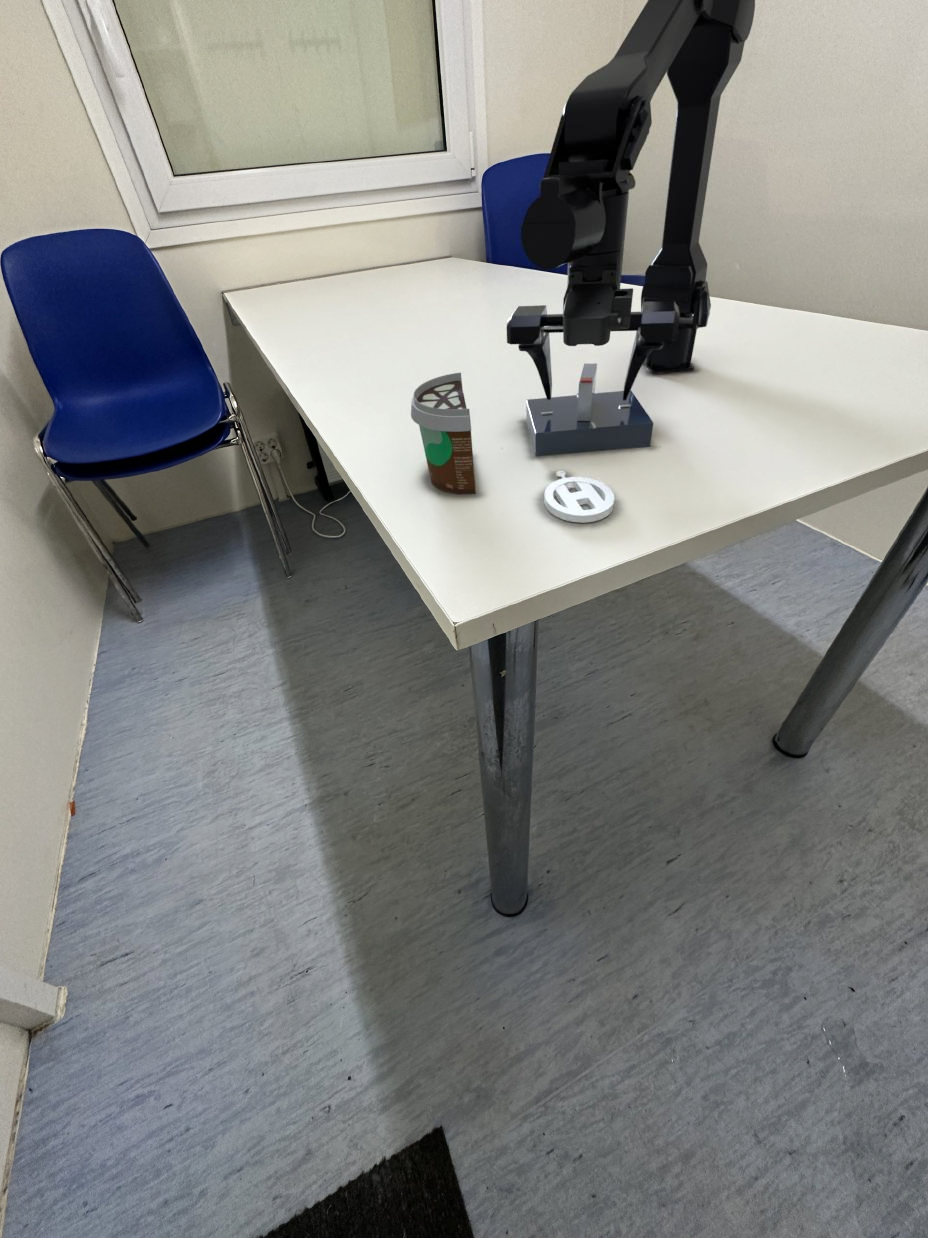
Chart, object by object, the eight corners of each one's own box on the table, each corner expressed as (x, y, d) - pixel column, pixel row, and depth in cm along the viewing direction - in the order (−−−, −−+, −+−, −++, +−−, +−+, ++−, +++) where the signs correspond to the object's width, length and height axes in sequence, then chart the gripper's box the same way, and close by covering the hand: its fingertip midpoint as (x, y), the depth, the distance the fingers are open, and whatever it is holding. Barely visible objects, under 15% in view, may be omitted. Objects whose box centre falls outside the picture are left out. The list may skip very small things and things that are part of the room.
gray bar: (581, 399, 71) (584, 361, 68) (594, 399, 71) (597, 361, 68) (576, 420, 66) (578, 380, 63) (590, 421, 66) (592, 380, 63)
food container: (420, 458, 69) (407, 376, 63) (467, 452, 69) (460, 370, 63) (422, 506, 60) (408, 417, 54) (477, 500, 60) (469, 410, 54)
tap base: (628, 411, 75) (631, 388, 72) (650, 446, 66) (654, 421, 64) (526, 421, 75) (526, 397, 73) (535, 457, 67) (535, 432, 65)
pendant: (559, 527, 54) (559, 521, 54) (527, 478, 63) (527, 472, 62) (626, 515, 55) (627, 508, 55) (586, 468, 63) (586, 461, 63)
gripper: (493, 270, 54) (500, 424, 64) (694, 259, 49) (666, 427, 60) (513, 249, 62) (516, 389, 72) (688, 239, 57) (664, 390, 68)
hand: (586, 398), depth 68 cm, fingers open, 9 cm apart
